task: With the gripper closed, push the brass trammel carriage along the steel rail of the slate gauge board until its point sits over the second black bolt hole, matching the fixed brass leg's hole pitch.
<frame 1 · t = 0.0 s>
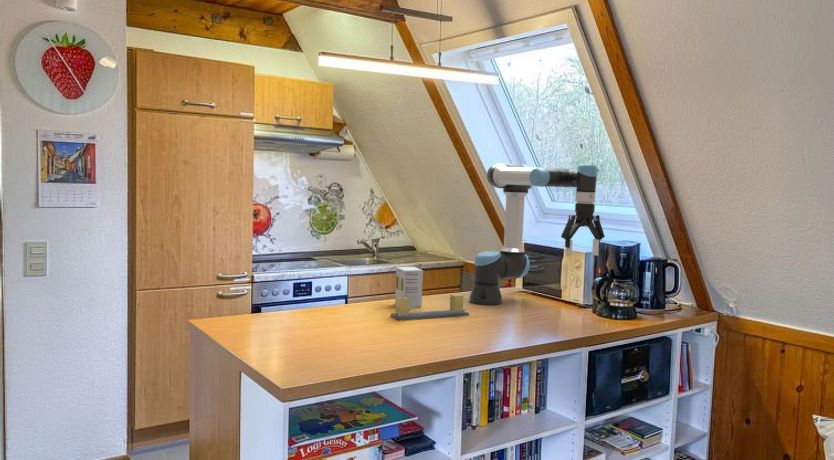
hand: (581, 255, 255), 28 cm above the counter, fingers open, 13 cm apart
gauge board: (430, 315, 262), on the counter
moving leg: (400, 305, 256), point 5 cm above the counter, slide at 0.0 cm
supplement box: (408, 306, 280), on the counter
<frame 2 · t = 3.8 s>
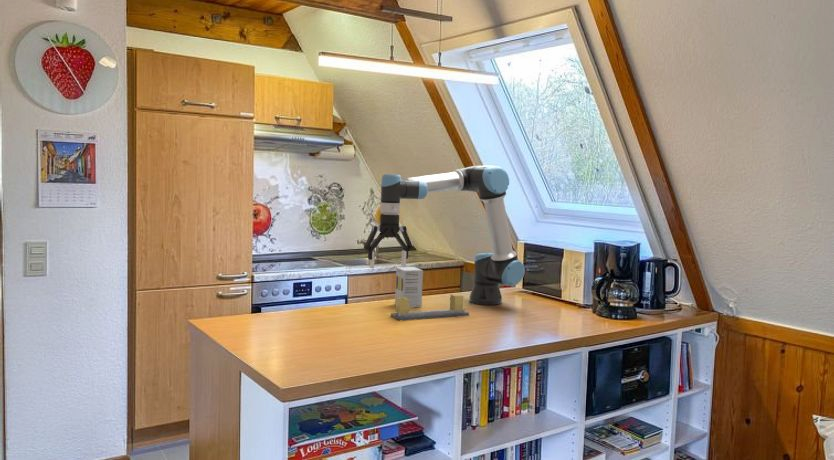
hand: (387, 267, 249), 21 cm above the counter, fingers open, 13 cm apart
nothing on the counter moved.
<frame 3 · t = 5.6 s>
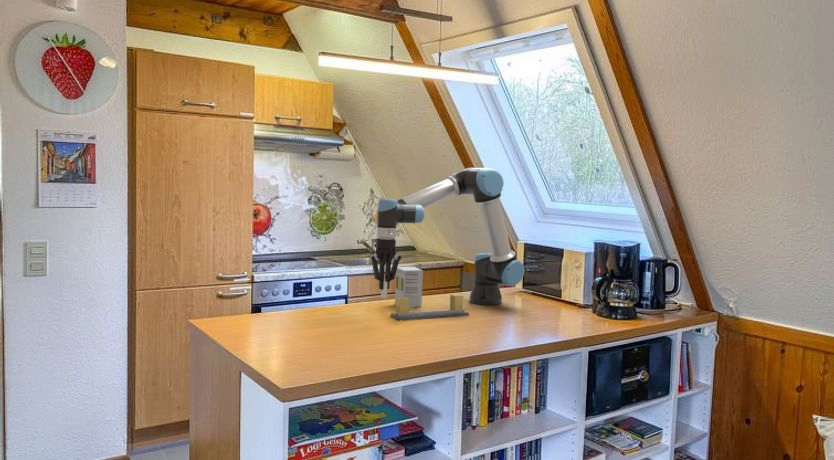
hand: (383, 297, 250), 9 cm above the counter, fingers closed
nothing on the counter moved.
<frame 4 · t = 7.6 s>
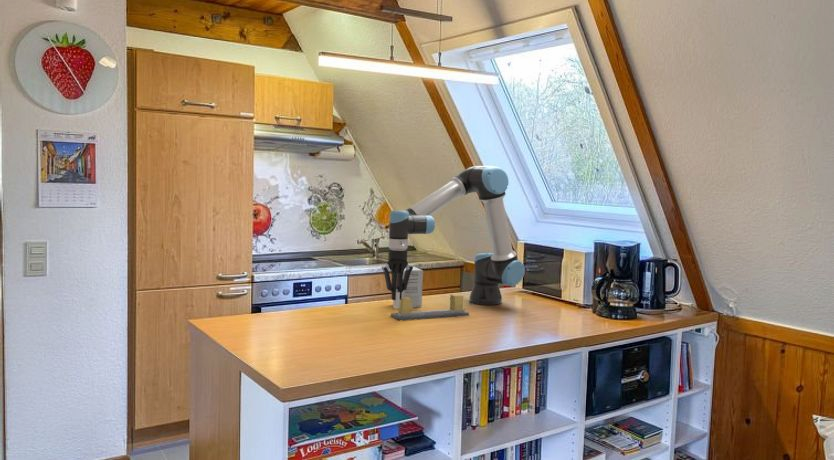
hand: (396, 307, 253), 5 cm above the counter, fingers closed
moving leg: (403, 305, 256), point 5 cm above the counter, slide at 1.1 cm, touching gripper
everything else where it was.
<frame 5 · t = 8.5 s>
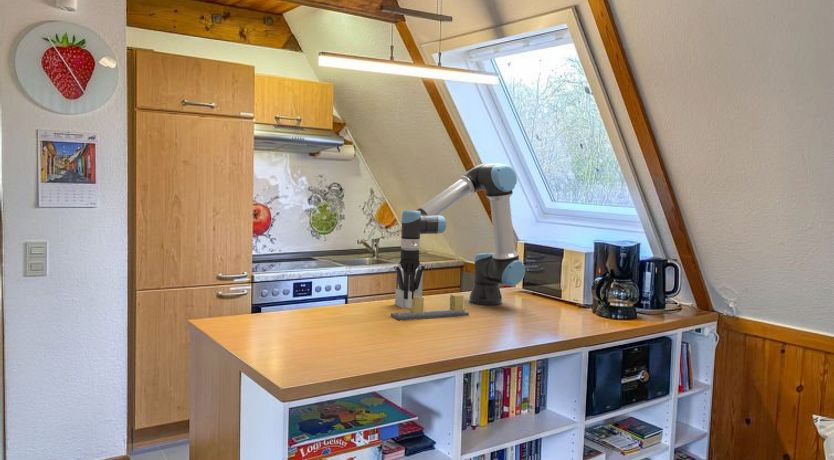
hand: (408, 306, 255), 5 cm above the counter, fingers closed
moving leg: (415, 304, 258), point 5 cm above the counter, slide at 6.5 cm, touching gripper
everything else where it was.
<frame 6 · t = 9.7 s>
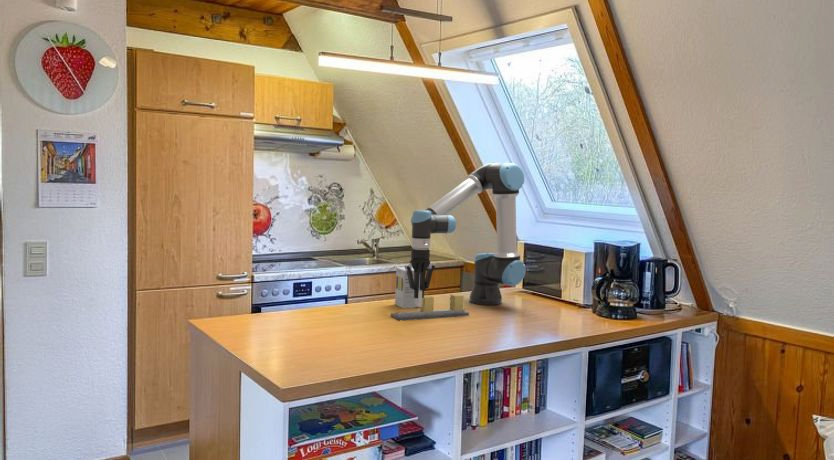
hand: (418, 305, 257), 5 cm above the counter, fingers closed
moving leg: (425, 304, 260), point 5 cm above the counter, slide at 11.0 cm, touching gripper
everything else where it was.
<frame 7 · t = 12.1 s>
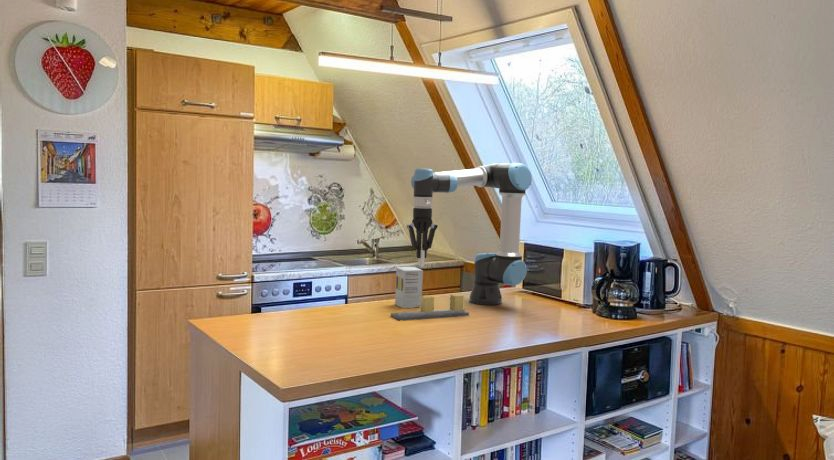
hand: (421, 266, 254), 22 cm above the counter, fingers closed
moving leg: (425, 304, 260), point 5 cm above the counter, slide at 11.2 cm
everything else where it was.
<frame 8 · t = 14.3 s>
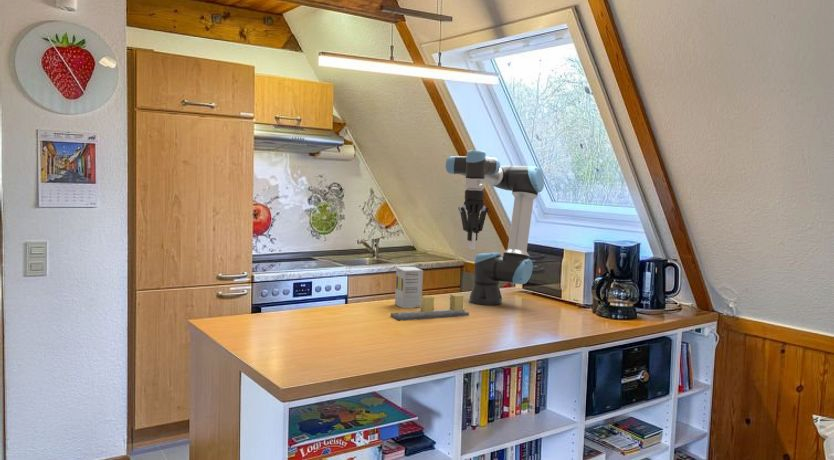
hand: (471, 248, 252), 29 cm above the counter, fingers closed
nothing on the counter moved.
at the end: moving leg slide at 11.2 cm; the gripper is holding nothing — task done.
